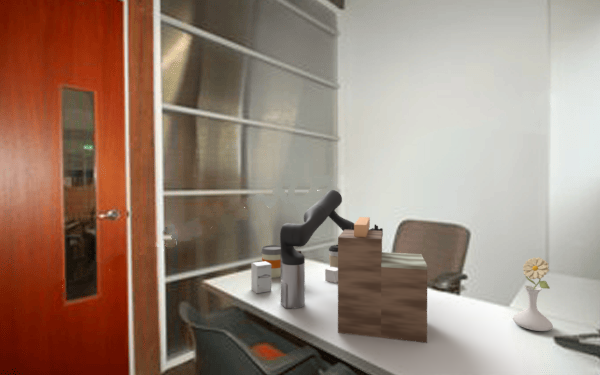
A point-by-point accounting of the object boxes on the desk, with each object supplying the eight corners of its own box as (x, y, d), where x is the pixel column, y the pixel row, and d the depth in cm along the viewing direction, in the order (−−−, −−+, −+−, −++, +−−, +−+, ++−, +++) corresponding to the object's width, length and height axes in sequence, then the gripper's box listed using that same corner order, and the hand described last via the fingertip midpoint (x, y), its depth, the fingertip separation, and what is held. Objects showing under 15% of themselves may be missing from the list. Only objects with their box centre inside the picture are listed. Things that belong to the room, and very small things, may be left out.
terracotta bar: (359, 226, 136) (359, 217, 136) (369, 227, 135) (369, 217, 135) (354, 236, 113) (354, 224, 113) (366, 236, 112) (366, 225, 112)
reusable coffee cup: (276, 270, 189) (275, 244, 189) (289, 275, 180) (289, 247, 179) (257, 274, 181) (256, 247, 181) (270, 280, 172) (270, 250, 171)
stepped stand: (344, 312, 130) (344, 229, 129) (421, 319, 123) (421, 232, 122) (337, 332, 112) (337, 237, 111) (426, 342, 105) (427, 241, 104)
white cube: (325, 280, 170) (325, 269, 170) (331, 278, 175) (331, 266, 175) (335, 283, 167) (335, 271, 166) (341, 280, 171) (341, 268, 171)
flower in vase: (505, 320, 122) (506, 251, 122) (537, 320, 122) (538, 251, 121) (529, 336, 109) (530, 260, 109) (565, 337, 109) (566, 260, 108)
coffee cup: (340, 276, 179) (340, 247, 178) (325, 273, 183) (325, 246, 183) (347, 272, 186) (347, 245, 186) (333, 269, 191) (333, 243, 191)
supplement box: (256, 294, 151) (256, 266, 150) (251, 289, 157) (250, 262, 157) (271, 291, 154) (271, 264, 154) (265, 286, 161) (265, 260, 160)
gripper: (350, 231, 153) (347, 217, 139) (383, 233, 149) (382, 218, 136) (349, 247, 149) (346, 234, 136) (382, 249, 146) (382, 235, 132)
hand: (364, 226), depth 136 cm, fingers open, 8 cm apart
